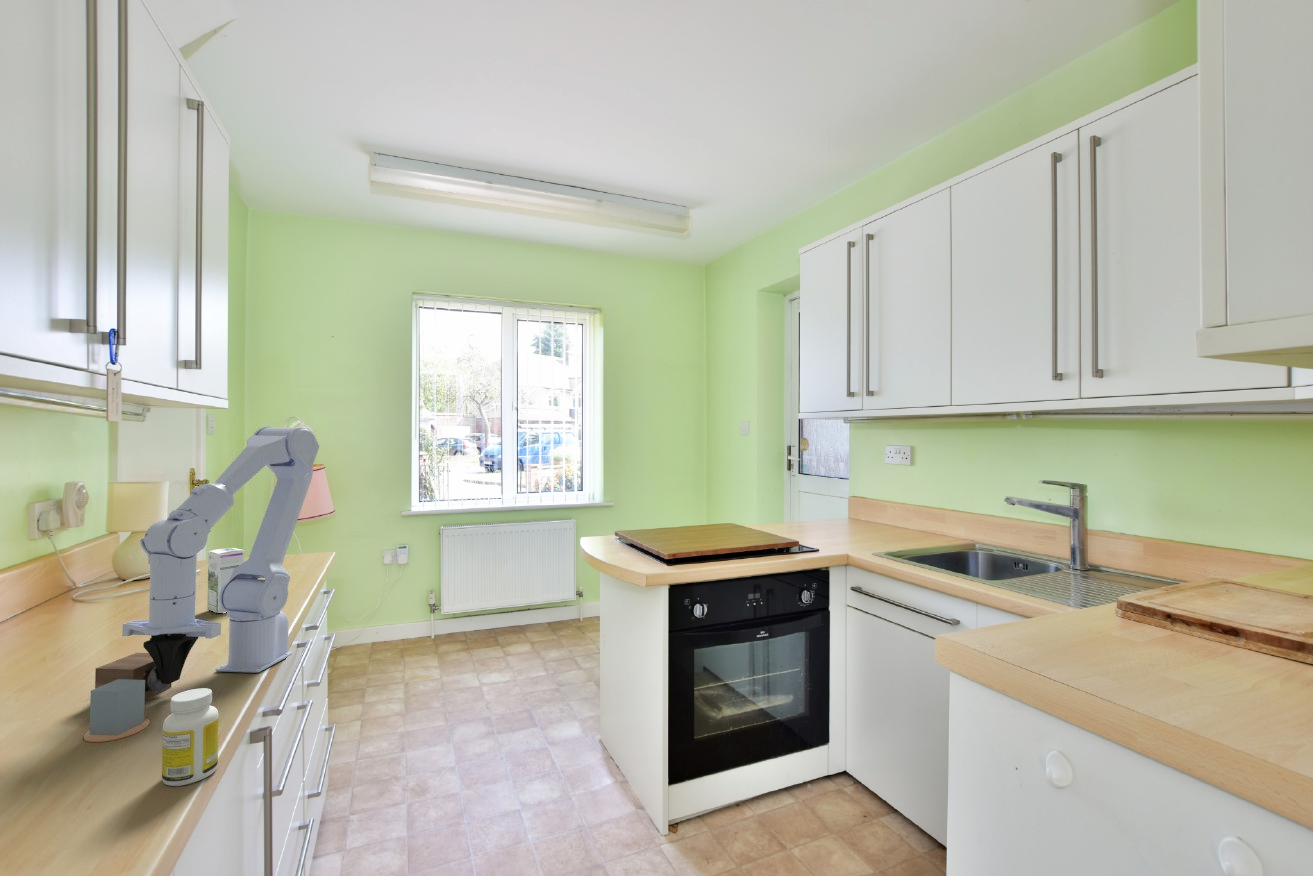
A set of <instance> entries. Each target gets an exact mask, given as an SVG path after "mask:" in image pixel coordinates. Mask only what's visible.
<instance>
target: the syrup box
mask: <svg viewBox="0 0 1313 876" xmlns="http://www.w3.org/2000/svg"><path fill="white" fill-rule="evenodd" d="M207 554H208V556H207V562H208V563H207V565H208V566H207V611H208V610H210V611H209V612H211V611H213V612H215V613H214V614H216V613H223V612H226V610H224V609H223V608H222V607H221V605H220V603H219V595H220V591H221V589H222V587H223V586H224V584H225V583H226V582H227V581H228V580H229V579H230V577H231V575H232V573H233V570H234V569H235V568H236V567H238V566H239V565H241V564H242V563H244V562H245V550H244V549H240V548H236V547H224V548H216V549H213V550H208V551H207ZM213 612H212V613H213ZM223 614H224V613H223Z"/></svg>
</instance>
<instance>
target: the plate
mask: <svg viewBox="0 0 1313 876" xmlns="http://www.w3.org/2000/svg"><path fill="white" fill-rule="evenodd" d="M148 726H150V719H149V718H147V717H144V722H143V723H141V724H139V725H137V726H135V727H133V728H131V729H129V730H128V731H126V732H124V733H122V734H120V735H118V736H115V735H89V733H90V729H88V730H87V731H86V732H85V733H84V735H83V739H84V741H85V742H88V743H107V742H111V741H116V740H120V739H124V738H127V737H131V736H133V735H135V734H138V733H139V732H142V731H144V730H145V729H146V728H148Z"/></svg>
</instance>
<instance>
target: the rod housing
mask: <svg viewBox="0 0 1313 876" xmlns="http://www.w3.org/2000/svg"><path fill="white" fill-rule="evenodd" d="M153 665H155V663H154V661H153V659H152V657H151V656H150V654H149V653H148V652H135V653H132V654H130V655H127V656H124V657H122V658H120V659H116V660H114V661H111V662H109V663H106V664H103V665H101V666H98V667H96V668H95V675H94V680H95V681H94V689H96V688H98V687H101V686H103V685H105V684H108V683H110V682H113V681H115V680H117V679H130V680H144V677H145V671H147V670H149V669H150V668H151V667H152V666H153ZM170 688H172V683H170V684H168V686H167V687H166V688H164V689H163V690H161V691H148V690H146V689H145V700H147V699H150V698H153V696H156V695H158V694H160V693H162V692H164V691H167V690H168V689H170ZM149 697H150V698H149Z"/></svg>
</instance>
